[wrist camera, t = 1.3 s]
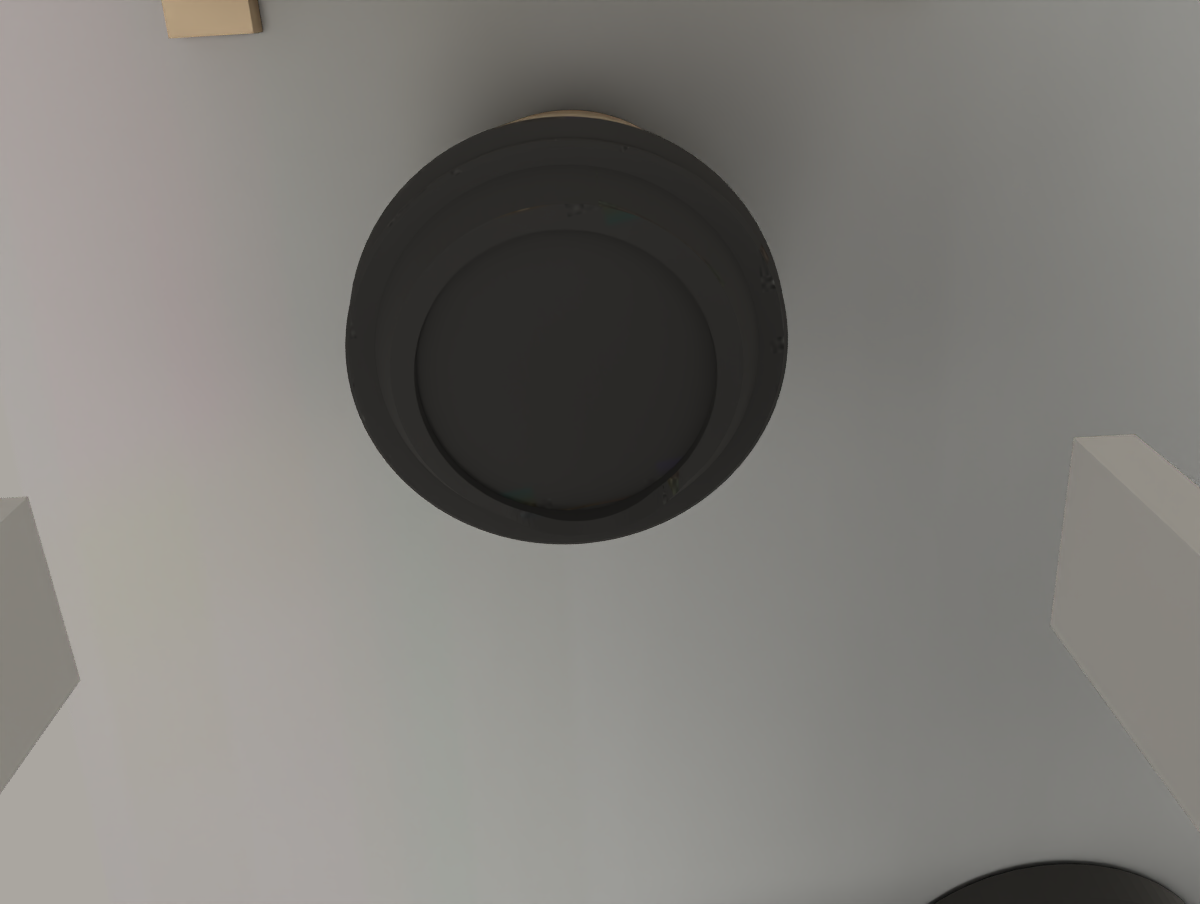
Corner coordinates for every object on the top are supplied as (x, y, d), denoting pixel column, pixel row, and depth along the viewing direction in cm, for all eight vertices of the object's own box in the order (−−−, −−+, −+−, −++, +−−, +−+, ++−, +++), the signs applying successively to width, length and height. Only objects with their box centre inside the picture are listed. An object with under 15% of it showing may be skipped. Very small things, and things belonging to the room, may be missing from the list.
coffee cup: (391, 105, 33) (257, 193, 19) (689, 39, 33) (770, 82, 19) (466, 384, 37) (398, 629, 23) (737, 330, 36) (835, 545, 22)
